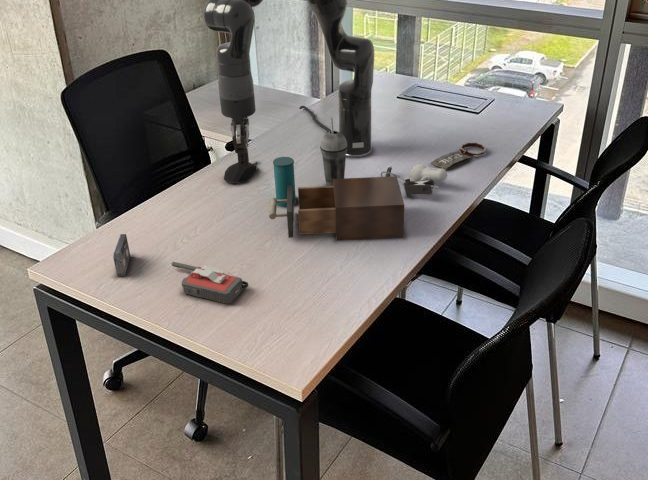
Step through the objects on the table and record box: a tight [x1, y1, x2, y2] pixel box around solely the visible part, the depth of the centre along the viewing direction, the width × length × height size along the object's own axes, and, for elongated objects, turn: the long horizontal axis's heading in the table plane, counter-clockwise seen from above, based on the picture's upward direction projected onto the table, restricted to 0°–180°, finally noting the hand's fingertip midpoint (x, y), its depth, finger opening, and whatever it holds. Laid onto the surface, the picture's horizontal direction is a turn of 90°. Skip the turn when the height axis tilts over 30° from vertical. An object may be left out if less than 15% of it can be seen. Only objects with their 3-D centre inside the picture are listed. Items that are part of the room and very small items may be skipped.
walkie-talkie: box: [171, 261, 249, 305], centre depth 155 cm, size 9×4×20 cm
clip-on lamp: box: [380, 163, 448, 198], centre depth 192 cm, size 12×6×18 cm
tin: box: [272, 156, 297, 208], centre depth 185 cm, size 5×5×12 cm
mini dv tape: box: [112, 233, 131, 277], centre depth 162 cm, size 8×2×6 cm, turn 4°
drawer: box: [268, 185, 336, 239], centre depth 175 cm, size 19×14×7 cm
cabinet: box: [333, 175, 405, 241], centre depth 175 cm, size 16×15×9 cm
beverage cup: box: [319, 116, 348, 186], centre depth 189 cm, size 7×7×20 cm
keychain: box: [430, 141, 487, 170], centre depth 207 cm, size 8×19×2 cm, turn 131°
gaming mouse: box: [223, 161, 258, 184], centre depth 202 cm, size 6×15×4 cm, turn 155°
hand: (243, 164), depth 168 cm, fingers closed
